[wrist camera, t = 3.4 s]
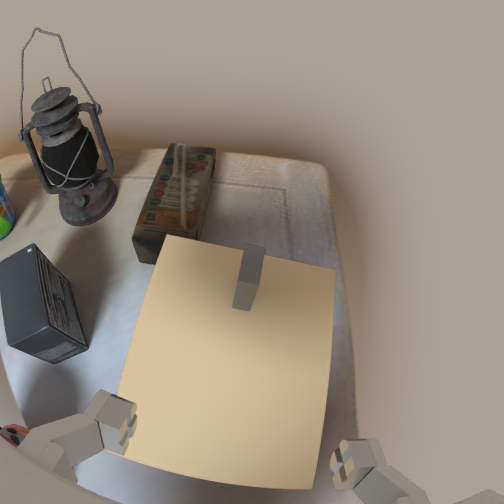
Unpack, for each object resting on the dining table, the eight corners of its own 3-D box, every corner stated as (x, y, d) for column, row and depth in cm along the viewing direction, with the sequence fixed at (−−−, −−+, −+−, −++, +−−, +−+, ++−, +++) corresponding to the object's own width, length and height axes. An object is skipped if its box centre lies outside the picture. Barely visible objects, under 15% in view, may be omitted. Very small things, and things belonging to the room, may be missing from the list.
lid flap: (308, 487, 17) (338, 507, 12) (108, 449, 17) (76, 459, 11) (332, 273, 28) (359, 238, 23) (167, 238, 28) (159, 196, 22)
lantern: (54, 235, 37) (-28, 66, 11) (57, 188, 42) (4, 38, 16) (125, 214, 41) (80, 17, 15) (119, 169, 45) (91, 4, 20)
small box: (34, 297, 32) (-5, 261, 23) (69, 280, 34) (35, 239, 25) (51, 366, 28) (4, 346, 19) (90, 349, 30) (50, 324, 21)
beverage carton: (216, 173, 47) (218, 143, 42) (194, 275, 37) (192, 249, 32) (171, 168, 47) (168, 138, 41) (138, 266, 37) (126, 240, 31)
